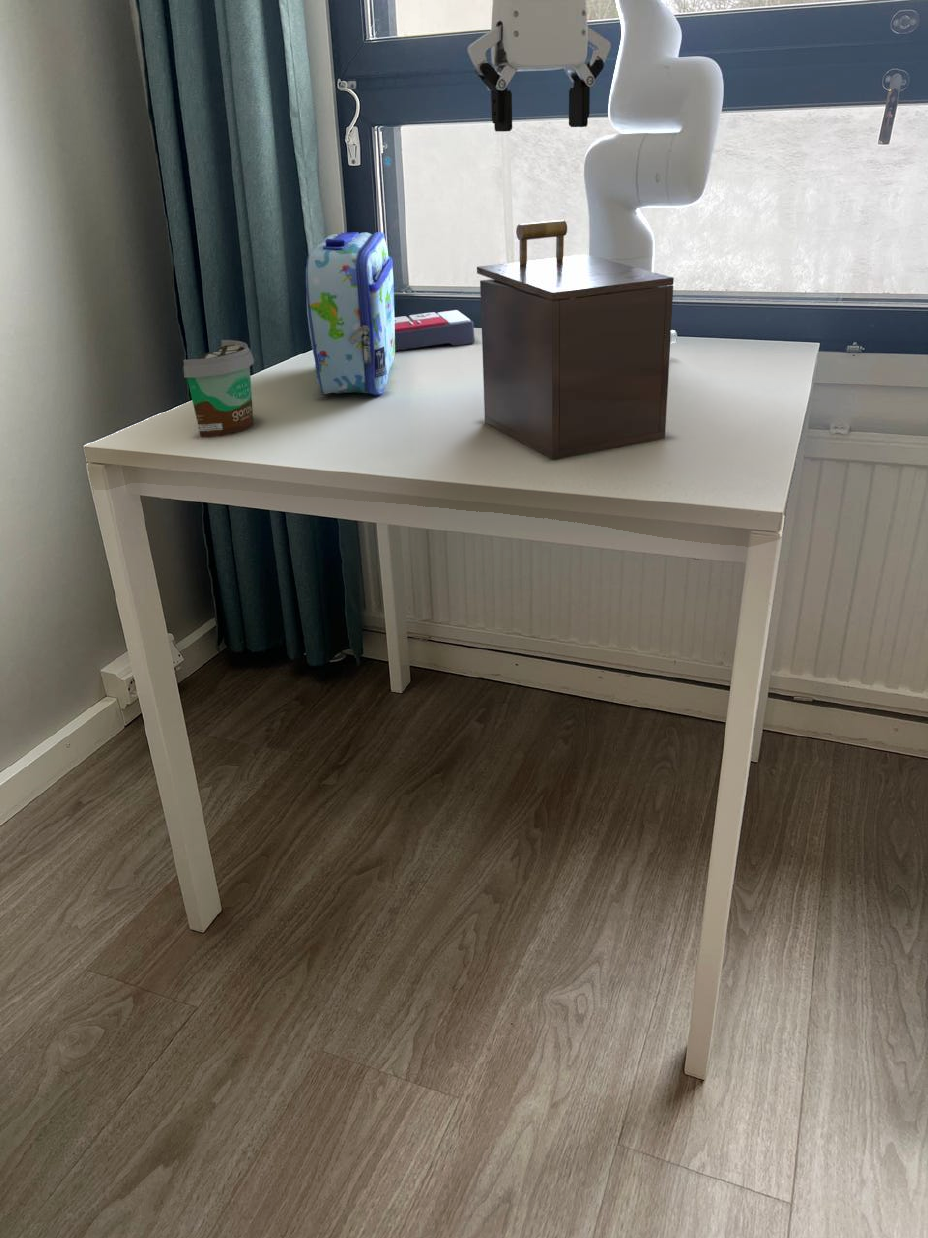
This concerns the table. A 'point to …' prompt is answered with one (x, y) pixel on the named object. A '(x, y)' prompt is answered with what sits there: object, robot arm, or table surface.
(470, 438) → the table surface
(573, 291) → the chest lid
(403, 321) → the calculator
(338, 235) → the lunch box
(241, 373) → the food container
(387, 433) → the table surface
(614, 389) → the chest
